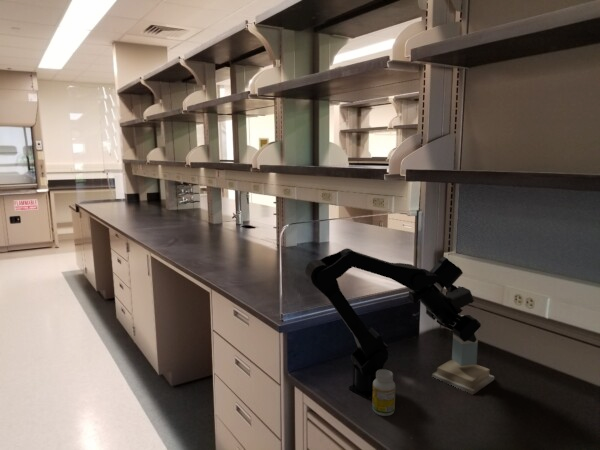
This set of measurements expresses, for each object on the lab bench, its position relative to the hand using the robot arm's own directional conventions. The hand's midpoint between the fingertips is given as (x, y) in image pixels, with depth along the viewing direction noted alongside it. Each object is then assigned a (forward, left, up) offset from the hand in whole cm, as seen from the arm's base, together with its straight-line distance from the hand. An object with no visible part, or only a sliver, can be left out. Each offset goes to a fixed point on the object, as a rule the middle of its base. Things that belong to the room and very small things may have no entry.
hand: (469, 337), depth 118 cm
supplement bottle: (-6, -30, -12) cm, 33 cm away
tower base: (-1, -1, -12) cm, 12 cm away
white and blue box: (-1, -1, -7) cm, 7 cm away
